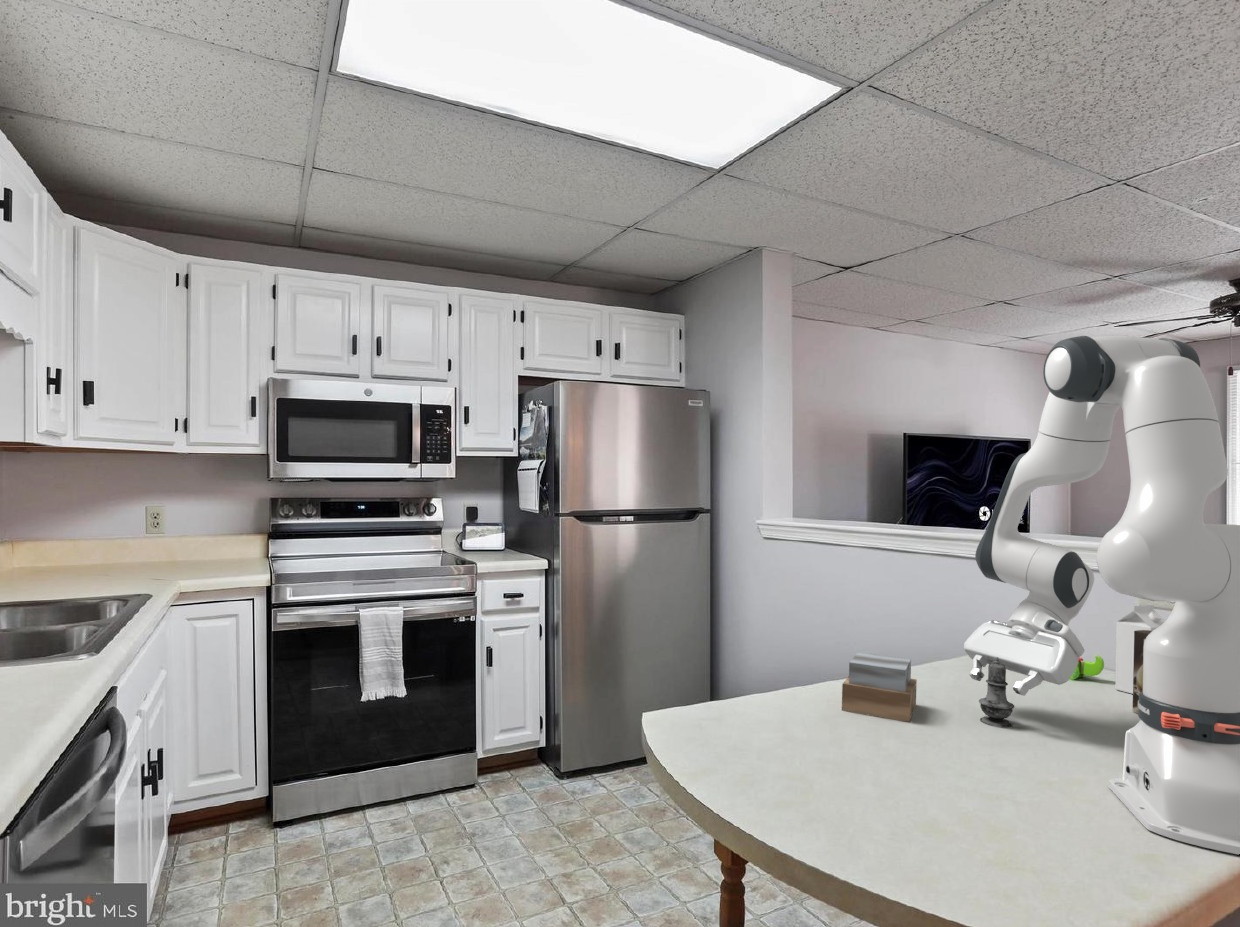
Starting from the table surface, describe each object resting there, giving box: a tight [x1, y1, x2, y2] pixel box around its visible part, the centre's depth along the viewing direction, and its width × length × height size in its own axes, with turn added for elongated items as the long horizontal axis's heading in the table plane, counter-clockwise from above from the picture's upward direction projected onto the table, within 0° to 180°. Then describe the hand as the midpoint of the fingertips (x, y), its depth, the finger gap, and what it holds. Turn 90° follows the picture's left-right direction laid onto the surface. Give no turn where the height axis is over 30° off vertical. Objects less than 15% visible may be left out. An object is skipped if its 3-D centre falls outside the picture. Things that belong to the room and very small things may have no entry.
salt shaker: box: [978, 657, 1015, 729], centre depth 133 cm, size 6×6×12 cm
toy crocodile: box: [1068, 654, 1105, 681], centre depth 171 cm, size 20×7×6 cm, turn 37°
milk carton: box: [1114, 604, 1166, 695], centre depth 156 cm, size 7×7×19 cm
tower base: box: [841, 651, 918, 723], centre depth 139 cm, size 12×12×9 cm
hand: (995, 685), depth 132 cm, fingers open, 8 cm apart
